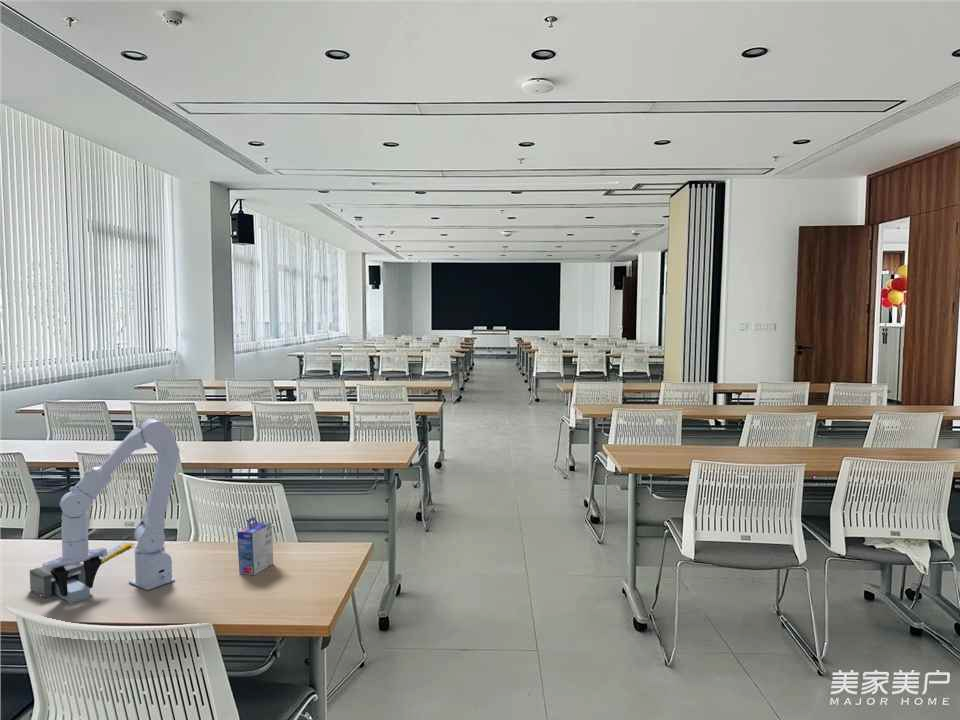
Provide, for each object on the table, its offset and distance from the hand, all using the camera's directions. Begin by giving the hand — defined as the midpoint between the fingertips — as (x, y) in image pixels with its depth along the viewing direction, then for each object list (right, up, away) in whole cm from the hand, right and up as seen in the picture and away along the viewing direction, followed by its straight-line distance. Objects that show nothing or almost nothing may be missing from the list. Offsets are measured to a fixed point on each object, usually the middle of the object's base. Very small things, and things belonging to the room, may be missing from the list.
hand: (76, 591), depth 167 cm
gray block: (-8, -1, +6) cm, 10 cm away
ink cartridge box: (+39, -1, +20) cm, 44 cm away
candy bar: (-8, -1, +31) cm, 32 cm away
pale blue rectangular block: (-4, -2, +3) cm, 5 cm away
